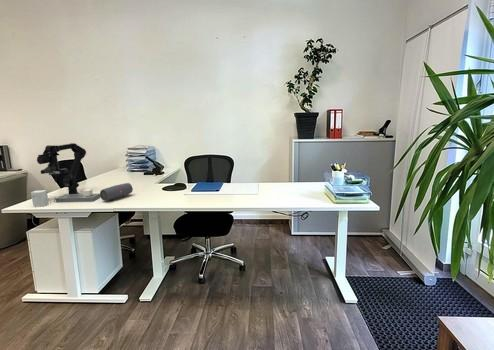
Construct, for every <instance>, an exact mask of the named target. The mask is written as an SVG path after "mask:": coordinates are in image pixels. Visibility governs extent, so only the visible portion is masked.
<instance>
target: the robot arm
mask: <svg viewBox="0 0 494 350" xmlns="http://www.w3.org/2000/svg"><path fill="white" fill-rule="evenodd" d="M65 150H71V151H72V152H73V157H74V159H73V161H72V164H71V167H70V170H69V168H60V166H59V165H60V162H59V160H58V156H60V154H59V153H58V152H60V151H65ZM37 155H38V156H37V158H36V162H37V164H39V165H44V164H47V166H46V167H45V168H44V169H41V170H40V174H41V175H45V174H46V175H47V174H48V176H50V177H52V178H53V181H54V182H55V183H58V181H59V179H60V176H61V174H66V173H68V175H64V178H63V179H62V183H63V185H64V186H65V188H67V189H68V190H67V191H68V194H80V192H78V187H80V183H78V182H77V177H76V175H77V173H78V171H79V167H80V164H81V161H82V160H83V159H84V158H85V157H86V155H87V151H86V149H85V148H83V147H82V146H80V145H78V144H77V143H74V142H73V143H72V142H71V143H65V144H59V145H58V144H57V145H55V144H54V145H50V144H49V145H46V146H45V148H44V150H43V152H42V154H37Z"/></svg>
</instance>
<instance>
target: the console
mask: <svg viewBox="0 0 494 350" xmlns="http://www.w3.org/2000/svg"><path fill="white" fill-rule="evenodd" d="M98 199H100V192H99V193H93V195H91V196H83V193H79V194H69V193H66V194H65V193H64V194H62V195H60V196H57V197H55V198H54V200H55V203H91V202H92V203H93V202H95V201H97V200H98Z"/></svg>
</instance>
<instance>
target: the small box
mask: <svg viewBox="0 0 494 350" xmlns="http://www.w3.org/2000/svg"><path fill="white" fill-rule="evenodd" d="M30 195H31V196H30V197H31V201H32V206H37V207H45V206H47V205H49V204H50V203H49V202H50V201H49V196H48V191H47V189H44V190H43V189H42V190H40V189H39V190H34V191H31V192H30Z"/></svg>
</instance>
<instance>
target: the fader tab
mask: <svg viewBox="0 0 494 350" xmlns="http://www.w3.org/2000/svg"><path fill="white" fill-rule="evenodd" d="M82 194H83V196H91V195H93V194H94V193H93V189H84V190H82Z"/></svg>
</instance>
